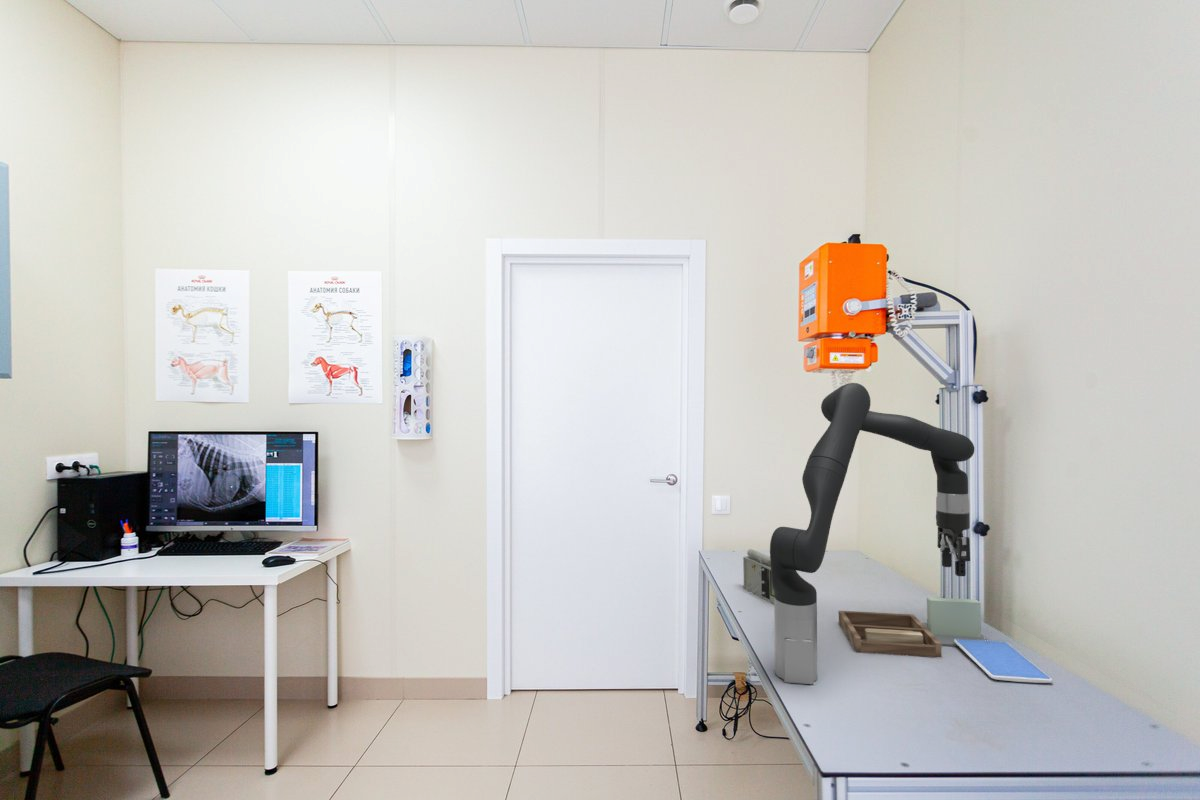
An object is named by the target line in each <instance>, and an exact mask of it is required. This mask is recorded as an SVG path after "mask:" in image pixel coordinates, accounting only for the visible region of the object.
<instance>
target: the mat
mask: <svg viewBox="0 0 1200 800" xmlns="http://www.w3.org/2000/svg"><path fill="white" fill-rule="evenodd" d="M921 623H922V624H923V625H924V626H925V627H926V628H927V622H921ZM934 636H935V637H936V638H937V640H938V641H939V642H940V643H941V645H942V646H941V647H955V646H958V645H956V644H955V643H954V640H955V639H966V640H983V641H985V640H986V641H987V640H988V639H987V638H986V637H985V636H984V635H983V634H981V637H964V636H947V635H934ZM984 637H985V639H984ZM948 645H949V646H948Z"/></svg>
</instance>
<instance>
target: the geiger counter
mask: <svg viewBox="0 0 1200 800" xmlns="http://www.w3.org/2000/svg"><path fill="white" fill-rule="evenodd" d="M746 552H747V553H746V554H747V555H746V556H743V557H742V560H743V562H742V563H743V567H742V568H743V589H744V590H745V591H747V592H749V593H751V594H753V595H754V596H756V597H759V598H761V599H762V600H765V601H766V602H768V603H770V604H773V605H774V589H773V586H772V578H771V561H770V555H767V554H765V553H762V552H760V551H757V550H754V549H752V548H750V549H748V550H747V551H746Z"/></svg>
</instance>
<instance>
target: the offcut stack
mask: <svg viewBox="0 0 1200 800" xmlns="http://www.w3.org/2000/svg"><path fill="white" fill-rule="evenodd" d="M864 641H877V642H893V643H908V644H923V635H922V633H921V632H913V631H906V630H889V629H872V628H867V629H865V640H864Z"/></svg>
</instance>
